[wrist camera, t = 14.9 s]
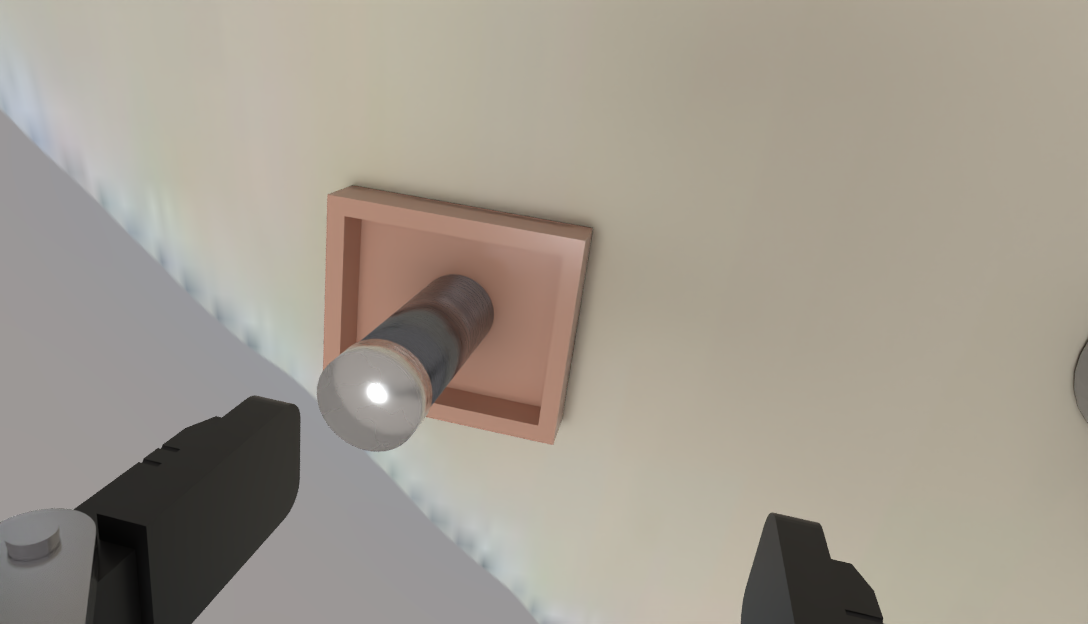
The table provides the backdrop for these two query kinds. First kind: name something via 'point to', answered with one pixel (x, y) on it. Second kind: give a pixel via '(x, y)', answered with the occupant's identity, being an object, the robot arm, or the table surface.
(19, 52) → the table surface
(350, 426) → the shaker
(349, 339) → the tray
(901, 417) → the table surface
